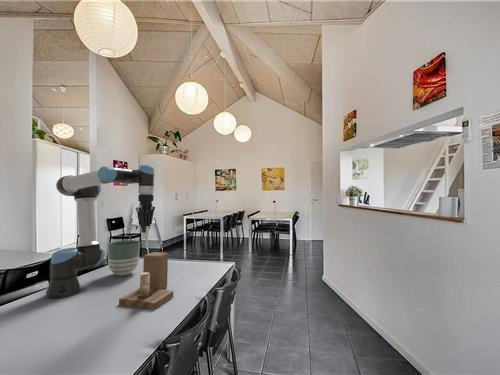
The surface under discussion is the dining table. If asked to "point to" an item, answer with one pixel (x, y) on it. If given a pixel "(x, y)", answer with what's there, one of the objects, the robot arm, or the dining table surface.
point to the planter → (123, 256)
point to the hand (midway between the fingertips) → (145, 238)
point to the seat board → (151, 302)
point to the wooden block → (156, 269)
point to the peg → (144, 285)
